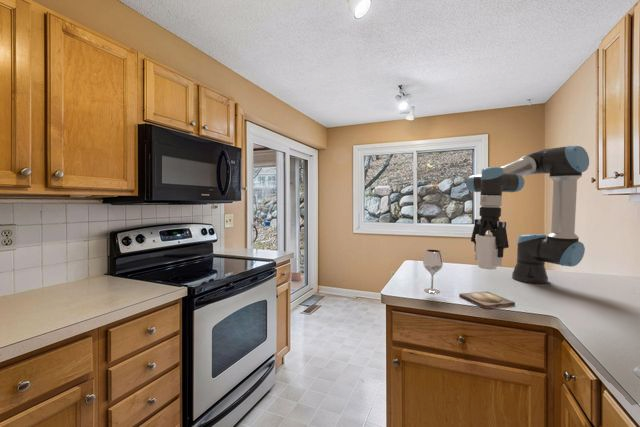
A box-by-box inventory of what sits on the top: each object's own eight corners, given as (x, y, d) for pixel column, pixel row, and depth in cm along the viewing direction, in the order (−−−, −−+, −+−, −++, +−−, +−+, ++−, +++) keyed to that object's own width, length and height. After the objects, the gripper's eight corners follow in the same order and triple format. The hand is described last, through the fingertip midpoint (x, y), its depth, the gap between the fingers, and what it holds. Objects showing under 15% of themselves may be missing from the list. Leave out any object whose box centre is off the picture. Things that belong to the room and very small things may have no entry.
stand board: (486, 294, 135) (487, 290, 135) (514, 305, 122) (514, 301, 122) (459, 296, 132) (459, 292, 132) (484, 308, 118) (485, 304, 118)
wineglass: (421, 292, 136) (423, 251, 135) (422, 287, 144) (423, 248, 143) (442, 295, 134) (443, 253, 132) (441, 289, 141) (443, 249, 140)
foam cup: (504, 271, 120) (506, 237, 120) (478, 269, 122) (479, 236, 121) (495, 265, 130) (497, 234, 129) (471, 264, 132) (473, 233, 131)
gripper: (462, 205, 134) (460, 257, 136) (505, 208, 113) (502, 269, 114) (477, 205, 136) (475, 256, 137) (522, 208, 115) (519, 268, 116)
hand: (487, 262), depth 126 cm, fingers closed on foam cup, 9 cm apart
